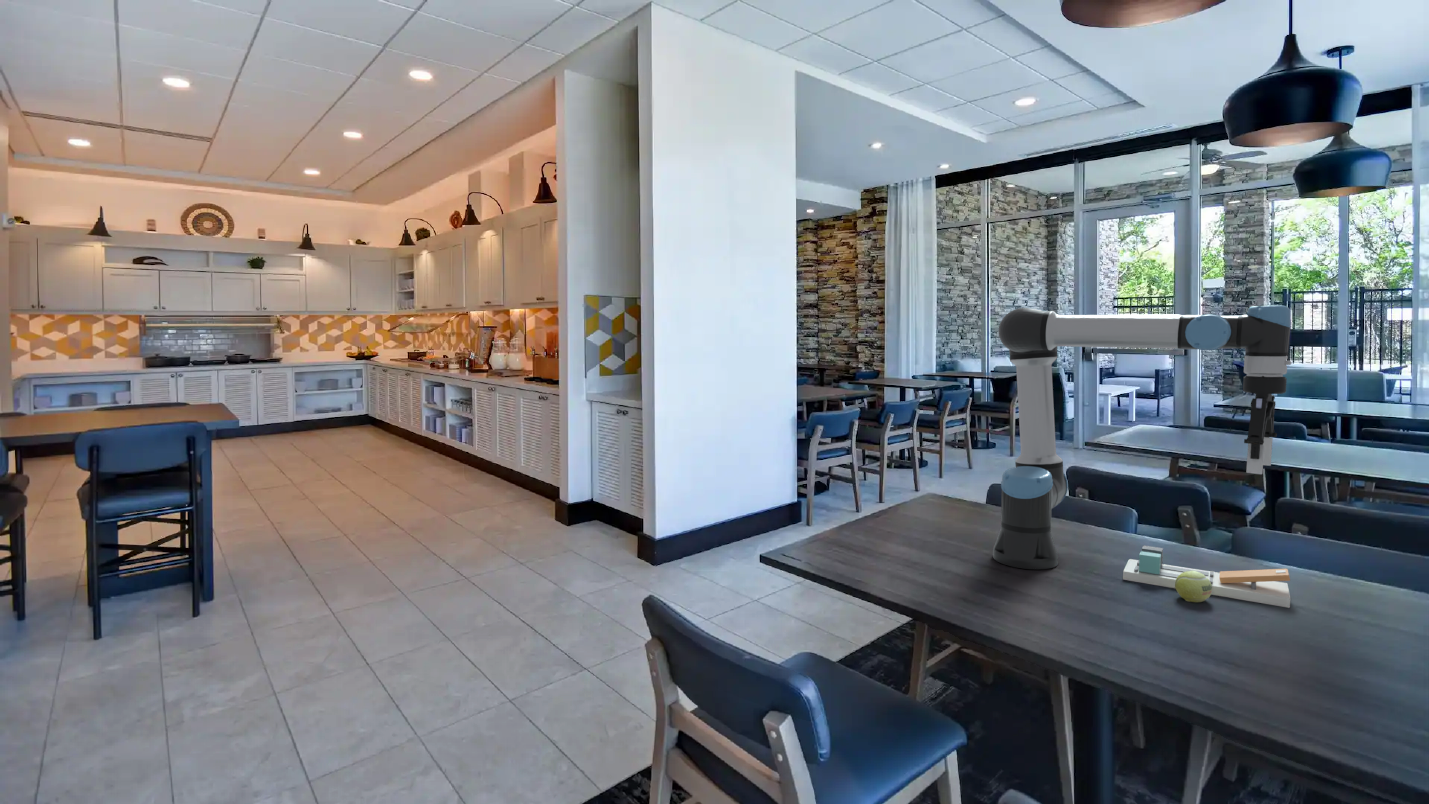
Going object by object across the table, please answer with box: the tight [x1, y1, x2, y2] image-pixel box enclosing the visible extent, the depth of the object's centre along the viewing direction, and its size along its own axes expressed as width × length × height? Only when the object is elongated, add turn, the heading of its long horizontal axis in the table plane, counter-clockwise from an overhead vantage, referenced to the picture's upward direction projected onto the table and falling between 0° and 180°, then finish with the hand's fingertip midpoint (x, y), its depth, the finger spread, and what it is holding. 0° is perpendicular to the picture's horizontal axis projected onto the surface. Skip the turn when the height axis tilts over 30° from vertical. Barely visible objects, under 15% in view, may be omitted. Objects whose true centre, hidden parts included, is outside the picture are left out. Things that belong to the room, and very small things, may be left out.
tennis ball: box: [1174, 571, 1212, 603], centre depth 147 cm, size 6×7×7 cm
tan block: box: [1219, 568, 1291, 583], centre depth 149 cm, size 12×5×1 cm, turn 52°
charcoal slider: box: [1141, 545, 1164, 567], centre depth 163 cm, size 4×3×4 cm
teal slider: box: [1138, 550, 1161, 574], centre depth 158 cm, size 4×3×4 cm
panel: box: [1122, 558, 1291, 609], centre depth 155 cm, size 30×11×3 cm, turn 53°
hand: (1258, 469), depth 154 cm, fingers open, 13 cm apart
